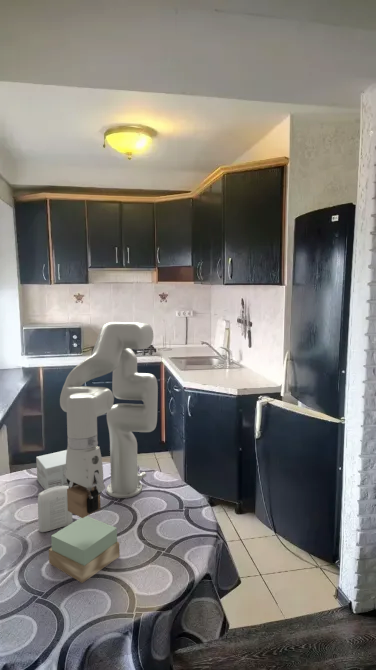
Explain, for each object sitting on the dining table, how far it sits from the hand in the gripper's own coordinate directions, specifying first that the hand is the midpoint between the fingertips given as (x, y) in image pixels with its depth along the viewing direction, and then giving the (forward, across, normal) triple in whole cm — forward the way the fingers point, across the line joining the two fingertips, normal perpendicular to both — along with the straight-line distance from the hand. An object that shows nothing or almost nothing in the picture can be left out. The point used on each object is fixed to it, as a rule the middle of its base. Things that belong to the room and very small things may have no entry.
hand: (84, 506), depth 114 cm
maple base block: (+16, 0, 0) cm, 16 cm away
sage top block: (+11, 0, 0) cm, 11 cm away
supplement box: (+15, +44, -26) cm, 54 cm away
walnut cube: (+1, 0, 0) cm, 1 cm away
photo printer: (+15, +20, -5) cm, 26 cm away
